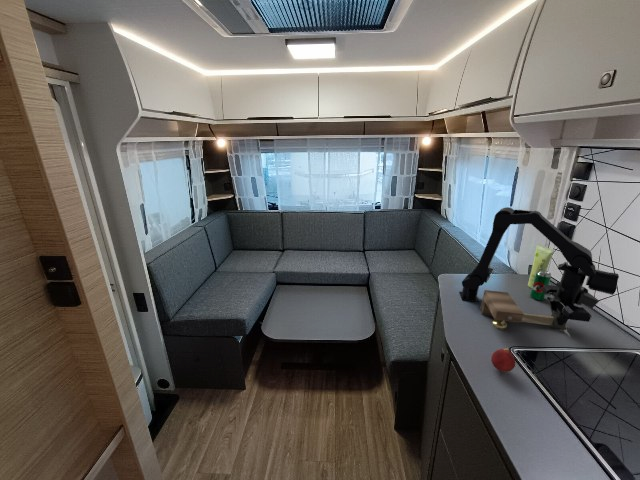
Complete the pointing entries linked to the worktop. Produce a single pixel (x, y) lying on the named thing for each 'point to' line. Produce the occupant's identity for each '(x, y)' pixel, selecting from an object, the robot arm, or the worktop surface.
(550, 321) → the wooden mallet
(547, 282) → the soda can
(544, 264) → the tube
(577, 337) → the worktop surface
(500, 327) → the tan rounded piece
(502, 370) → the onion
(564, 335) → the worktop surface
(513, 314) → the walnut cabinet
